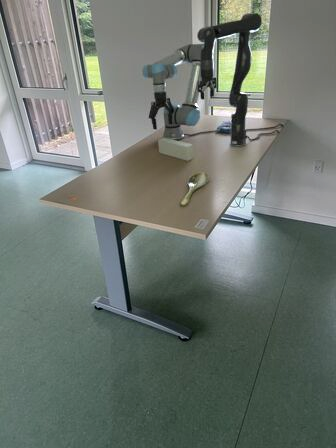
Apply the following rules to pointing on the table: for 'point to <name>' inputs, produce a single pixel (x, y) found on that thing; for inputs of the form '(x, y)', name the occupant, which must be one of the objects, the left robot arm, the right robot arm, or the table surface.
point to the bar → (176, 149)
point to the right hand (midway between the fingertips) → (207, 97)
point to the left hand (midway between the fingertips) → (162, 126)
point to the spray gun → (225, 127)
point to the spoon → (195, 184)
